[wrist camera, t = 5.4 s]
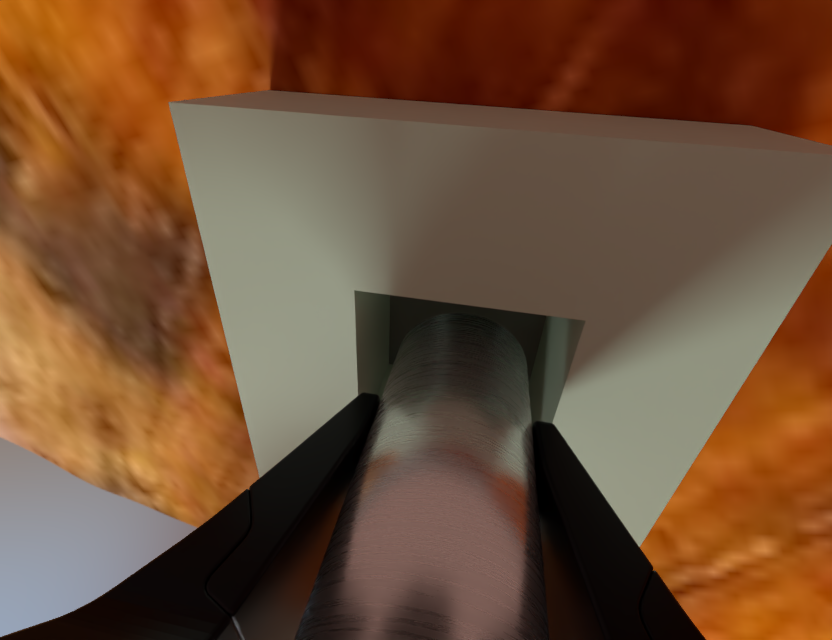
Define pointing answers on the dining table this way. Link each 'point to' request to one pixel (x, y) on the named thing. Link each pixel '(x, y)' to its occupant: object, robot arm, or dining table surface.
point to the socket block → (504, 261)
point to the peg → (440, 501)
